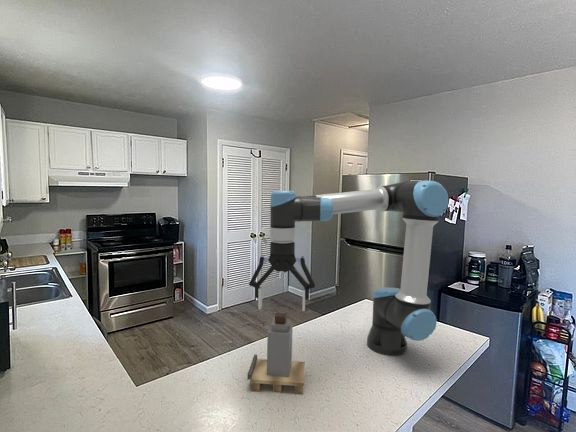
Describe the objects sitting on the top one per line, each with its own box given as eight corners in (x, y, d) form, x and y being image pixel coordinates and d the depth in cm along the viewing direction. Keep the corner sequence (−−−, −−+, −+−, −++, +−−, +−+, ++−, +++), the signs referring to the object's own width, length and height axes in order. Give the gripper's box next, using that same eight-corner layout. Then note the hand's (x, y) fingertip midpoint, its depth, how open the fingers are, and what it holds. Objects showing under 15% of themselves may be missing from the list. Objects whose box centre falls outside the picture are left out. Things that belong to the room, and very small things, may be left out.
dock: (304, 371, 107) (305, 357, 107) (303, 394, 95) (304, 378, 95) (254, 368, 108) (254, 354, 108) (247, 390, 96) (247, 374, 96)
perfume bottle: (288, 377, 98) (290, 319, 96) (266, 375, 99) (267, 317, 97) (291, 365, 104) (292, 311, 103) (271, 363, 105) (272, 310, 104)
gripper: (322, 240, 101) (321, 305, 103) (244, 238, 103) (244, 303, 105) (323, 244, 94) (322, 314, 96) (239, 242, 96) (239, 311, 97)
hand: (281, 308), depth 100 cm, fingers open, 13 cm apart
